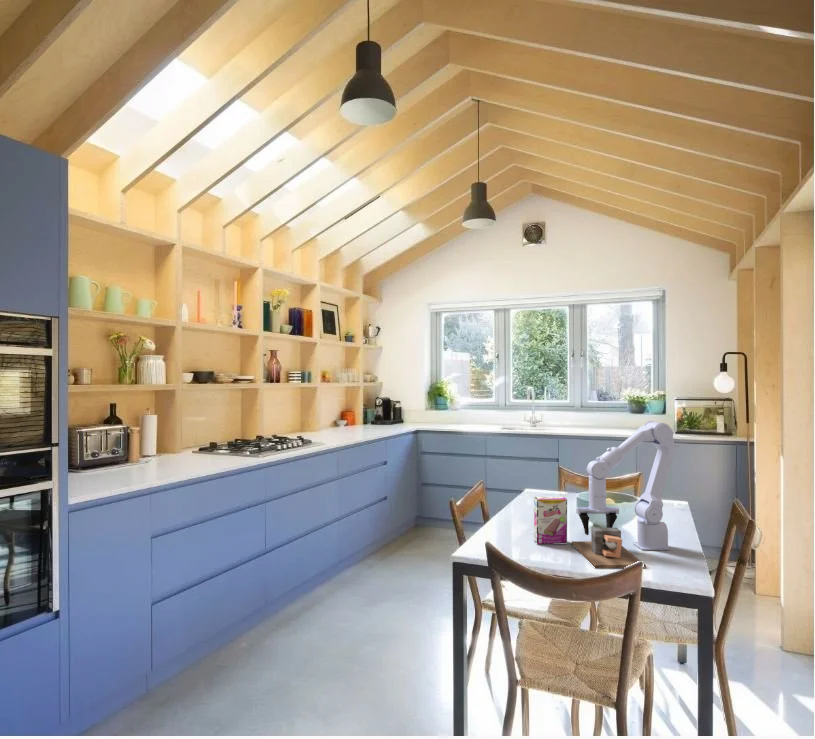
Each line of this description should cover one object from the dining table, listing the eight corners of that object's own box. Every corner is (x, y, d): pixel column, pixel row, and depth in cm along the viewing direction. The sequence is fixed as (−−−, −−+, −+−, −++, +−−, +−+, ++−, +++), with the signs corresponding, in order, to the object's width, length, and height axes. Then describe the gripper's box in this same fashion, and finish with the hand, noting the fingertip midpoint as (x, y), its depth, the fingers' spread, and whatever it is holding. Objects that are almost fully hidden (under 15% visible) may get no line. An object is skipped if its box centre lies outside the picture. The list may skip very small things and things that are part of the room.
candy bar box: (537, 545, 206) (536, 499, 206) (533, 541, 211) (533, 496, 211) (568, 544, 206) (567, 498, 206) (563, 540, 211) (563, 495, 211)
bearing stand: (616, 544, 206) (615, 519, 206) (645, 568, 180) (645, 540, 180) (571, 544, 206) (571, 519, 206) (594, 568, 180) (594, 540, 180)
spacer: (601, 552, 191) (616, 554, 190) (605, 555, 187) (620, 558, 187) (604, 534, 191) (618, 536, 191) (607, 537, 187) (622, 539, 187)
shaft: (601, 537, 203) (601, 527, 203) (619, 552, 186) (618, 540, 186) (591, 537, 203) (591, 527, 203) (607, 552, 186) (607, 541, 186)
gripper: (580, 497, 198) (580, 537, 198) (622, 497, 198) (622, 537, 198) (574, 493, 205) (574, 531, 205) (614, 493, 205) (615, 531, 205)
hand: (597, 534), depth 202 cm, fingers open, 7 cm apart
